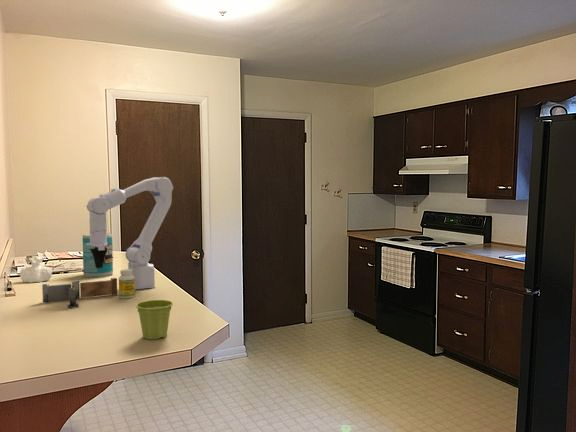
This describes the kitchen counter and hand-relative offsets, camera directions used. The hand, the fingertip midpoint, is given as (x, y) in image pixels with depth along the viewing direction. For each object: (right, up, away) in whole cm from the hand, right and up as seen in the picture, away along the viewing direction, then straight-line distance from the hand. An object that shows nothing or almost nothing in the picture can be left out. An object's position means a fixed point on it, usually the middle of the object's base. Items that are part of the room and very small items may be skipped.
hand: (99, 267), depth 175 cm
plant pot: (+34, -13, -49) cm, 61 cm away
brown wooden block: (+2, -9, -5) cm, 11 cm away
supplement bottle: (+12, -10, -5) cm, 16 cm away
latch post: (-1, -11, -19) cm, 22 cm away
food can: (-14, -7, +35) cm, 38 cm away
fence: (-8, -10, -11) cm, 17 cm away
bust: (-34, -8, +22) cm, 41 cm away
